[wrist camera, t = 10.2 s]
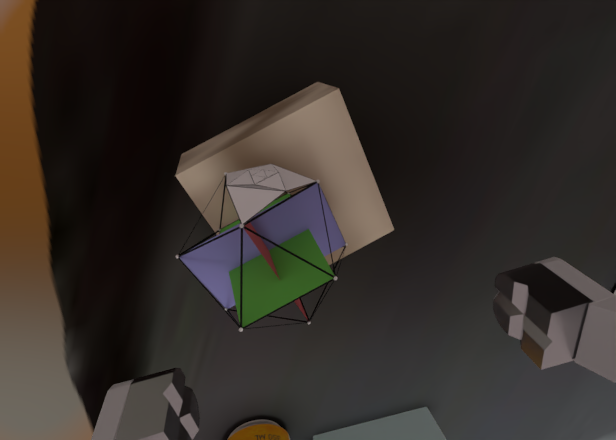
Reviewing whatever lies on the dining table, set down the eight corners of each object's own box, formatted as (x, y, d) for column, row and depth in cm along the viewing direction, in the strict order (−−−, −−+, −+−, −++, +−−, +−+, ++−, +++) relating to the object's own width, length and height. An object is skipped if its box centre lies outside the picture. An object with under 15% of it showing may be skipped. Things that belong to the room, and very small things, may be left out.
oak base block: (315, 81, 22) (338, 88, 18) (366, 202, 26) (394, 229, 22) (182, 152, 21) (175, 175, 18) (255, 262, 26) (262, 300, 22)
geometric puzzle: (372, 294, 19) (379, 268, 12) (258, 356, 19) (190, 370, 12) (310, 186, 22) (283, 106, 14) (208, 240, 21) (125, 189, 14)
